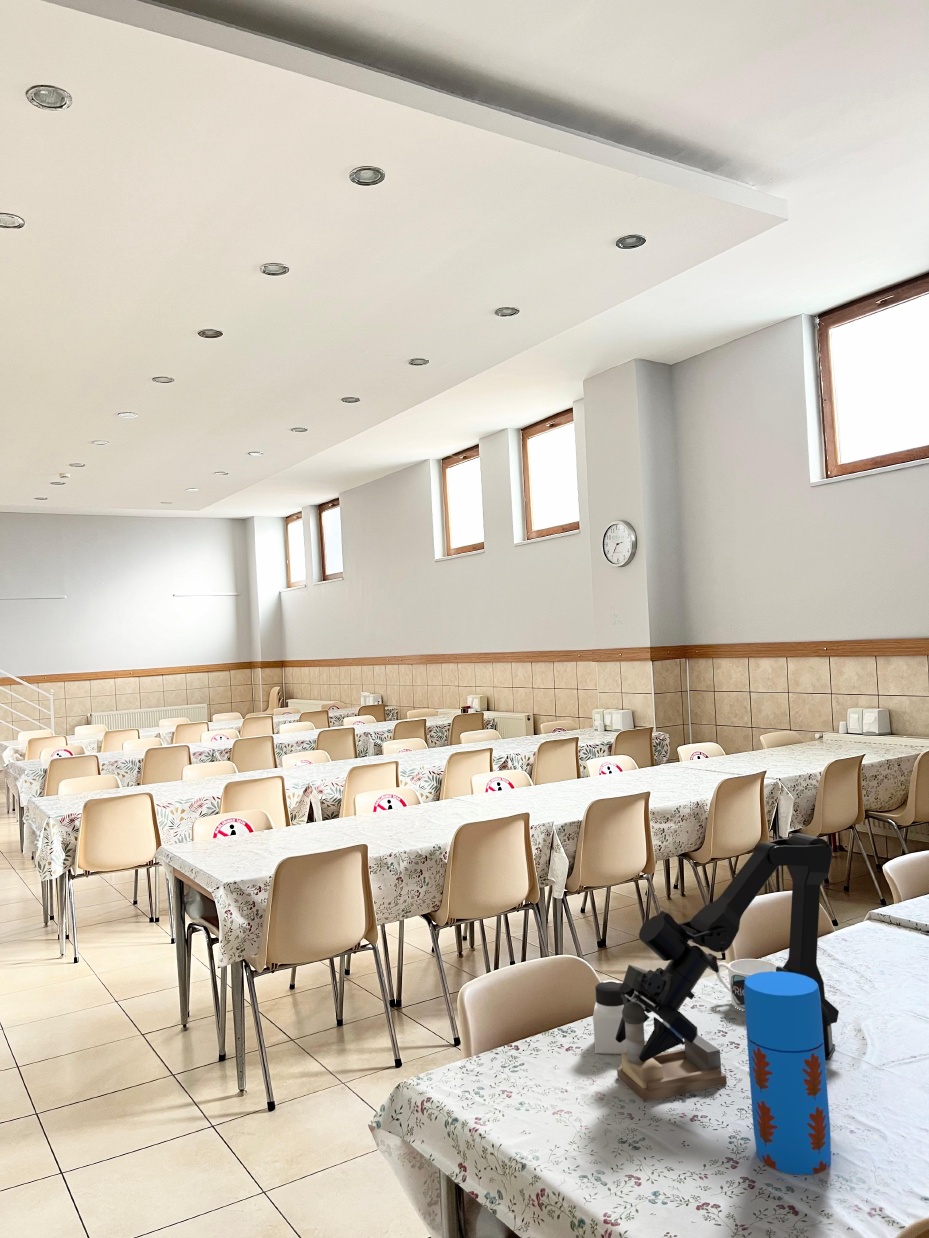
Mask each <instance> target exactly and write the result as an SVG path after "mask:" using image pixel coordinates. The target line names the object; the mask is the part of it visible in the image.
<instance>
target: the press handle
mask: <svg viewBox="0 0 929 1238" xmlns="http://www.w3.org/2000/svg"><path fill="white" fill-rule="evenodd" d="M645 1014H646V1012H645V1010H644V1008H643V1007H642V1005H640V1004H639V1003H637V1002H628V1003H627V1004H626V1005H625V1006H624V1007H623V1010H622V1016H623V1019H624V1021H625V1031H626V1047H627V1052H625V1053H622V1054H621V1068H622V1069H623V1071H624V1072H625V1073H626V1074H627V1075H628V1076H629V1077H631V1078H632V1079H633V1080H634V1081H635V1082H636V1083H637V1084H638V1085H640V1086H641V1087H642V1088H643V1089H644V1088H647V1083H646V1082H651V1081H656V1080H660V1079H664V1077H663V1066H662V1065H661V1064H659V1063H658V1062H657V1061H656V1060H654V1059H653V1058H651V1059H649V1060H647V1061H645V1062H642V1061H641V1060H640V1059H639V1055H640V1053H641V1051H642V1049H643V1047H644V1046H645V1044H646V1041H645V1040H646V1039H645V1028H644V1027H645V1026H644V1025H645V1024H644V1023H643V1021H644V1019H645Z"/></svg>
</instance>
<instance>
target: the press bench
mask: <svg viewBox="0 0 929 1238" xmlns="http://www.w3.org/2000/svg"><path fill="white" fill-rule="evenodd" d="M683 1041H684V1042H685V1044H684V1045H683V1046H684V1048H680V1049H675V1050H671V1051H670V1050H669V1051H664V1052H662V1053H660V1054H658V1055H656V1056H654V1057H653V1059H654V1060H656V1061H657V1062H658V1063H659V1064H661V1065H662V1066H663V1077H664V1079H660V1080H656V1081H651V1082H646V1083H647V1088H644V1089H643V1088H642V1087H641V1086H640V1085H638V1084H637V1083H636V1082H635V1081H634V1080H633V1079H632V1078H631V1077H629V1076H628V1075H627V1074H626V1073H625V1072H624V1071H623V1069H622V1067H619V1068H617V1069H616V1073H617V1074H616V1075H617V1079H618V1080H620V1082H622V1083H623V1084H624V1085H625V1086H626V1087H627V1088H628V1089H630V1091H632V1092H633V1093H634V1094H635V1095H636V1096H637V1097H639V1099H641V1100H642V1101H643V1102H644V1103H646V1102H651V1101H655V1100H659V1099H663V1098H664V1099H666V1098H669V1097H674V1096H678V1095H682V1094H687V1093H691V1092H692V1093H693V1092H697V1091H702V1090H705V1089H706V1090H707V1089H710V1088H711V1089H712V1088H715V1087H719V1086H720V1087H721V1086H726V1085H727V1084H728V1083H727V1082H728V1079H727V1075H726V1074H725V1073H724V1072H722V1062H721V1060H722V1059H721V1050H720V1049H719V1048H718V1047H717V1046H715V1045H714V1044H712V1043H710V1042H709V1041H708V1040H707V1039H705V1038H703V1036H702V1037H701V1036H700V1035H699V1034H698V1036H697V1037H696V1039H695V1040H694V1041H693V1043H692V1044H690V1043H689V1042H687V1041H686V1040H685V1039H683Z"/></svg>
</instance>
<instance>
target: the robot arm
mask: <svg viewBox="0 0 929 1238" xmlns="http://www.w3.org/2000/svg"><path fill="white" fill-rule="evenodd" d="M832 858H833V848H832V846H831V845H830V844H829V842H828V841H827V840H826V839H825V838H822V837H817V836H812V835H808V834H803V833H800V832H797V833H793V834H792V835H791V836H790V837H788V838H776V839H774V840H771V841H761V842H758V843H757V844H756V845H755V847H754V850H753V852H752V854H751V855H750V856H749V858H748V859H747V860H746V862H745V863H744V864H743V866H742V867H741V868H740V870H739V871H738V872H737V873H736V875H735V876H734V878H733V879H732V880H731V881H730V883H729V884H728V885H727V887H726V888H725V889H724V891H723V892H722V894H721V895H720V896H718V898H717V899H716V900H714V901H712V902H710V903H707V904H706V905H705V906H703V907H702V908H701V909H700V910H699V911H698V912H697V913H696V914H695V915H694V916H692V918H691V919H689V920H685V921H683V922H680V923H678V922H677V921H676V920H675V918H674V917H673V915H671V914H670V913H669V912H667V911H665V910H660V911H659V913H658V914H657V915H654V916H652V917H650V918H649V919H648V920H645V922H644V923H643V924H642V925H641V928H640V929H639V933H638V938H639V940H640V941H641V942H642V943H643V944H644V945H645V946H647V947H648V948H649V949H650V950H651V951H652V952H653V953H654V954H655V955H657V957H658V958H659V959H661V960H662V961H665V962H667V961H668V963H667V965H666V966H665V967H664V969H663V968H662V967H657V968H655V970H652V969H648V970H646V969H643V968H641V967H638V966H635V965H632V964H628V966H627V968H626V972H625V975H624V978H623V981H622V982H621V983H622V985H621V986H620V988H619V990H621V991H622V992H623V993H624V994H625V995H623V994H622V993H621V997H622V998H623V1003H624V1006H625V1005H626V1004H627V1003H628V1002H637V1003H639V1004H640V1005H642V1007H643V1008H644V1010H645V1019H644V1021H643V1023H646V1022H647V1021H648V1020H649V1019H651V1018H650V1016H649V1015H648V1014H650V1013H653V1014H655V1015H656V1016H658V1018H657V1017H656V1016H653V1031H652V1032H651V1034H650V1036H649V1038H648V1039H647V1041H645V1046H644V1047H643V1049H642V1051H641V1053H640V1055H639V1059H640V1060H641V1061H642V1062H645V1061H647V1060H649V1059H651V1058H653V1057H654V1056H656V1055H658V1054H660V1053H664V1052H667V1051H668V1050H671V1049H673V1048H675V1047H677V1046H679V1045H683V1046H685V1045H684V1044H685V1042H684V1039H685V1040H686V1041H687V1042H689V1043H690V1044H692V1043H693V1041H694V1040H695V1039H696V1037H697V1036H698V1035H699V1034H698V1033H699V1032H698V1027H697V1026H696V1025H695V1024H694V1023H693V1022H692V1021H691V1020H689V1018H688V1017H686V1016H685V1015H684V1014H683V1013H682V1012H681V1011H679V1010H680V1009H681V1007H682V1005H683V1004H684V1002H685V1001H686V1000H687V998H688V999H690V1000H693V999H694V997H695V995H696V994H694V992H692V991H693V989H694V987H696V985H697V984H698V982H699V981H700V980H701V978H702V976H703V975H704V973H705V972H706V971H707V969H708V970H711V971H712V972H714V973H715V974H716V973H718V972H719V968H718V964H719V963H718V956H716V955H714V954H712V953H710V952H709V953H707V952H706V951H704V950H703V949H702V947H703V948H706V949H707V950H710V951H712V952H714V953H722V952H723V953H724V952H726V951H727V950H728V949H730V948H731V946H732V944H733V942H734V940H735V939H736V937H737V934H739V931H740V925H741V919H742V917H743V916H744V914H745V912H746V910H747V909H748V908H749V906H750V905H751V904H752V902H753V901H754V899H755V898H756V897H757V895H758V894H759V893H760V892H761V890H762V889H763V888H764V887H765V886H766V883H767V882H768V881H769V880H770V878H771V877H772V876H773V874H774V873H775V871H776V870H777V869H778V868H779V867H782V866H783V867H784V866H785V867H787V870H788V873H789V875H790V877H791V878H790V879H791V881H792V887H791V888H792V891H791V909H790V923H789V925H790V926H789V927H790V928H789V943H788V944H789V945H788V958H787V960H786V962H785V963H784V965H783V966H777V967H776V972H790V973H796V974H800V975H804V976H807V977H809V978H811V979H813V980H815V982H816V983H817V984H818V987H819V992H820V1000H821V1013H822V1026H823V1039H824V1052H825V1060H829V1059H830V1058H831V1057H832V1055H833V1053H834V1050H835V1049H836V1044H835V1043H833V1042H834V1041H833V1031H832V1024H836V1023H837V1022H838V1018H839V1014H840V1012H839V1011H840V1010H839V1009H837V1007H835V1006H834V1005H833V1004H832V1003H831V1002H830V1001H829V1000H828V999H826V993H825V982H824V979H823V977H822V974H821V972H820V970H819V966H818V962H817V961H818V960H817V959H818V958H817V957H818V941H819V924H820V923H819V921H820V920H819V919H820V903H821V902H820V901H821V886H822V884H823V882H825V879H826V878H827V876H828V875H829V873H830V871H831V870H830V869H831V865H832ZM689 941H690V942H692V943H694V944H693V945H690V944H689ZM695 944H696V945H695ZM660 1019H661V1020H662V1021H661V1020H660ZM615 1039H616V1040H617V1041H618V1042H619V1043H621V1042H622V1041H624V1040H625V1039H626V1031H625V1021H624V1019H623V1016H622V1019H621V1022H620V1025H619V1028H618V1031H617V1035H616V1038H615Z"/></svg>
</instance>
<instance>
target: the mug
mask: <svg viewBox="0 0 929 1238" xmlns="http://www.w3.org/2000/svg"><path fill="white" fill-rule="evenodd" d="M717 964H718V968H719V972H718V973H716V972H715V975H716V978H717V980H718V981H719V982H720V983H721V984H722V985H723V986H724V988H725V989H726V990H727V991H728V992H730V998H731V1004H732V1006H733V1005H734V1006H735V1007H736V1008H738V1009H740V1010H743V1011H745V1002H744V983H745V979H746V978H747V977H749V976H750V975H753V974H756V973H760V972H770V971H776V967H777V966H778V964H777V963H774V962H772V961H769V960H765V959H758V958H757V959H756V958H742V959H736V960H733V961H731V962H729V963H727V962H719V963H717ZM722 967H723V968H726V969H727V973H728V980H729V984H728V982H727V981H726V980H725V979H724V978H723V976H722V974H721V972H720V969H721V968H722ZM734 1006H733V1007H734ZM735 1007H734V1008H735ZM736 1008H735V1009H736ZM738 1009H737V1010H738ZM740 1010H739V1011H740ZM743 1011H742V1012H743Z"/></svg>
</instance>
